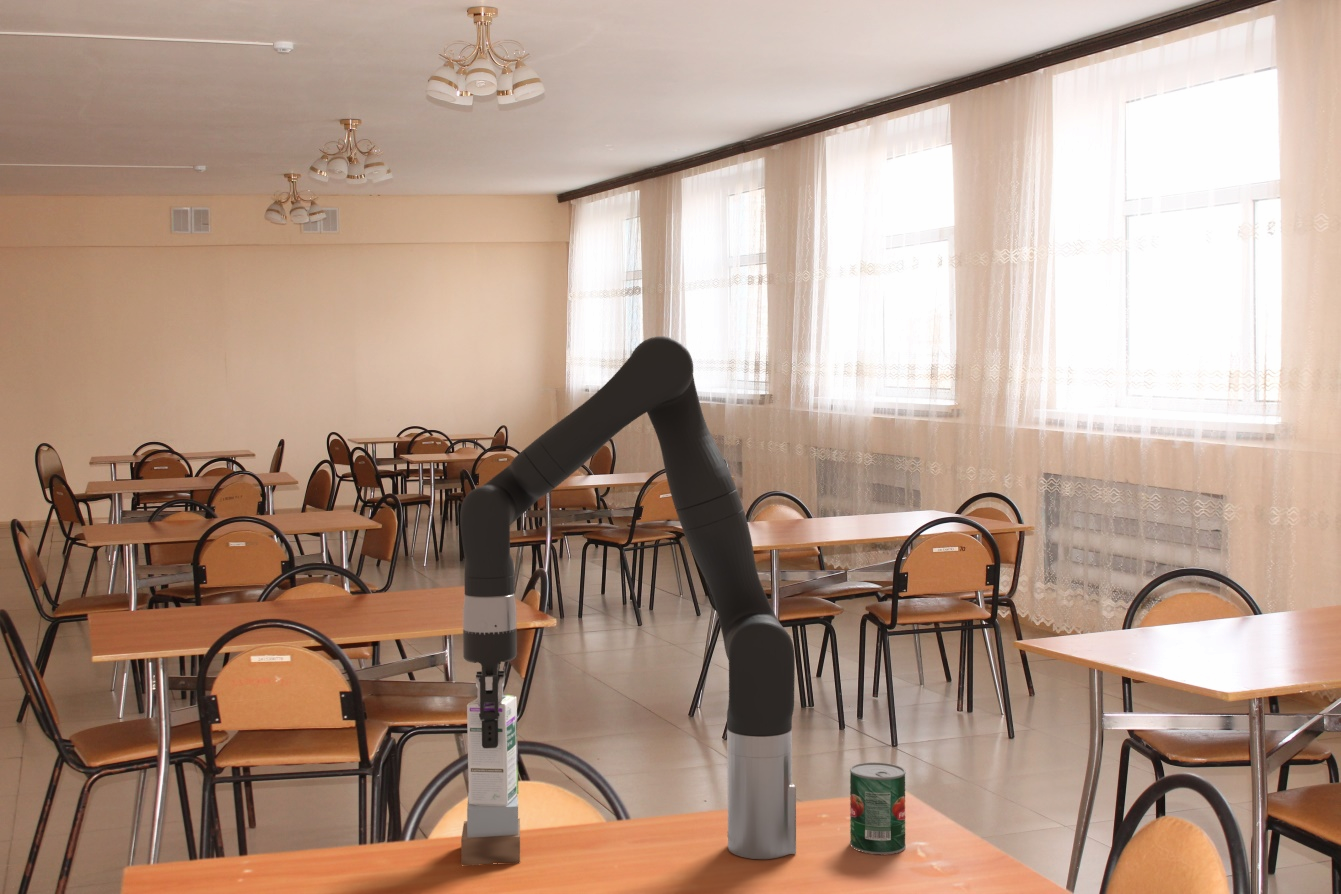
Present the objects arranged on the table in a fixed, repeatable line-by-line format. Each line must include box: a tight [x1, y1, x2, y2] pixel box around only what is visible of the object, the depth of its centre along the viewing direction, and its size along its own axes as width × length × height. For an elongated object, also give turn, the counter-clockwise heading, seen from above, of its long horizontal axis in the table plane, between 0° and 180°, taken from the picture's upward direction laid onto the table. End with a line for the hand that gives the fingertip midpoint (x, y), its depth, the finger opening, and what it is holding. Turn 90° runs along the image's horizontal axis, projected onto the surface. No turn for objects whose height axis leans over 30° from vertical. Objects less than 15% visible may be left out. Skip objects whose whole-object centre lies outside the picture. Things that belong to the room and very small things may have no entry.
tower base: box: [460, 817, 521, 866], centre depth 169 cm, size 8×8×4 cm
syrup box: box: [466, 693, 519, 806], centre depth 169 cm, size 6×6×14 cm
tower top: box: [466, 793, 519, 838], centre depth 169 cm, size 7×7×4 cm
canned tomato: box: [849, 761, 906, 856], centre depth 171 cm, size 8×8×11 cm
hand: (490, 739), depth 169 cm, fingers open, 8 cm apart
